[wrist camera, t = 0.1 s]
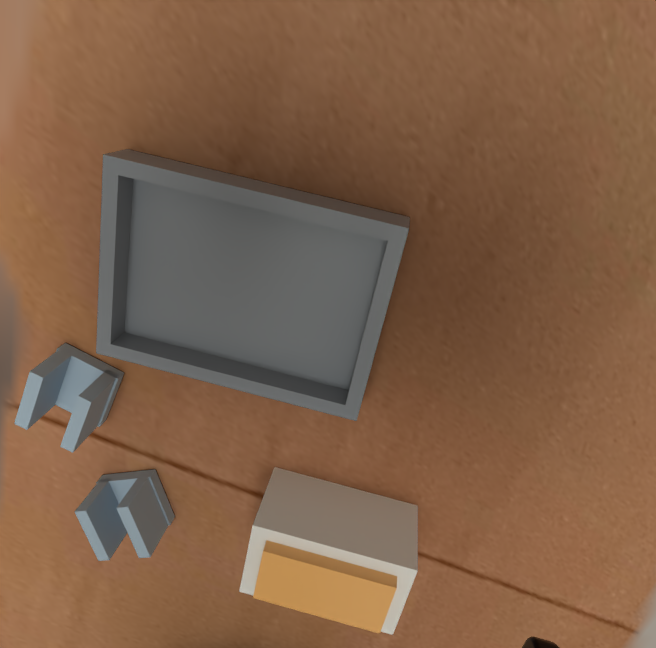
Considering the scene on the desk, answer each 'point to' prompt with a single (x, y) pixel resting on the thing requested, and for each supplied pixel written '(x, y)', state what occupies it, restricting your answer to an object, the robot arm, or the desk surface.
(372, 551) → the white orange block
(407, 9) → the desk surface
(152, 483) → the clip
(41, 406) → the clip
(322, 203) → the grey rectangular tray
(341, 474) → the desk surface
